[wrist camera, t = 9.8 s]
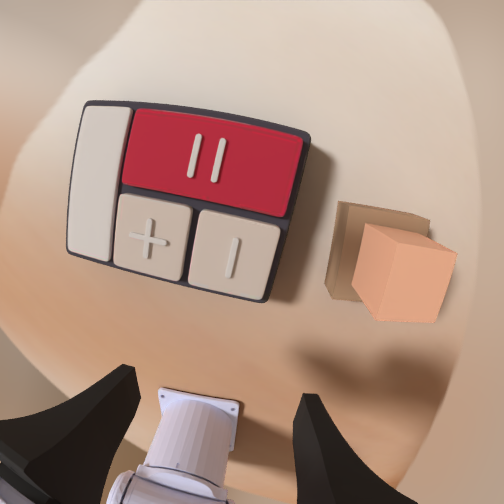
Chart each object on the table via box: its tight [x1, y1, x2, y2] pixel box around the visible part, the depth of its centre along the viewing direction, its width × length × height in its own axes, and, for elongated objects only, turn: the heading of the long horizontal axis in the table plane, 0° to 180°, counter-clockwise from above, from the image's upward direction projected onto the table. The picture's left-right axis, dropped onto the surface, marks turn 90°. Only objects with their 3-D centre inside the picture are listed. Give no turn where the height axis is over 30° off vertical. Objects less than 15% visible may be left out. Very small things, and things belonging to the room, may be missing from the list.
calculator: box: [66, 100, 311, 303], centre depth 17 cm, size 11×4×15 cm
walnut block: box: [325, 201, 430, 301], centre depth 18 cm, size 6×6×3 cm
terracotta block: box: [351, 223, 457, 322], centre depth 14 cm, size 4×4×4 cm
